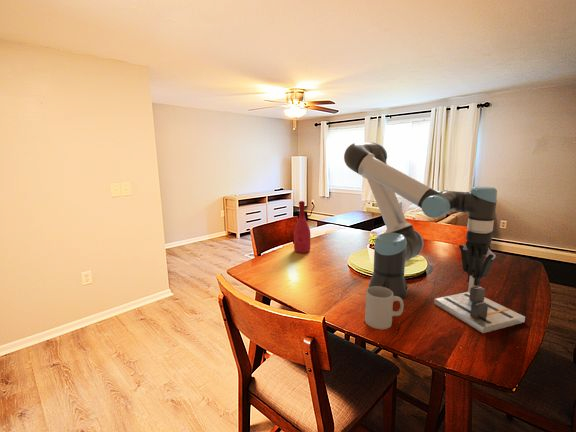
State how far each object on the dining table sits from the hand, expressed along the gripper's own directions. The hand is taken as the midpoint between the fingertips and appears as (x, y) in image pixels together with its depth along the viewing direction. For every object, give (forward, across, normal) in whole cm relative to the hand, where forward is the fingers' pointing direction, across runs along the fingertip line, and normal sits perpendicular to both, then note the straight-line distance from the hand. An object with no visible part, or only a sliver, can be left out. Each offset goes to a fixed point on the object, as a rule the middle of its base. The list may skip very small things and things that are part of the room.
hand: (472, 292), depth 103 cm
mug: (+4, 0, +39) cm, 39 cm away
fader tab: (+2, -2, 0) cm, 3 cm away
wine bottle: (+4, +78, +38) cm, 87 cm away
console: (+4, -6, +5) cm, 8 cm away
